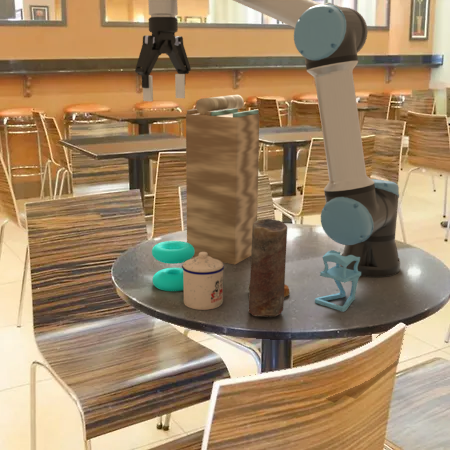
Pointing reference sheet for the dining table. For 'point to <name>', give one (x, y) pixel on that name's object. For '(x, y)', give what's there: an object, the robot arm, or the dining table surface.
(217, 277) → the teacup with lid
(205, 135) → the tall wooden crate
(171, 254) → the donuts
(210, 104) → the cream rounded cylinder
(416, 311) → the dining table surface
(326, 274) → the chair
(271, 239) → the brown upright cylinder
